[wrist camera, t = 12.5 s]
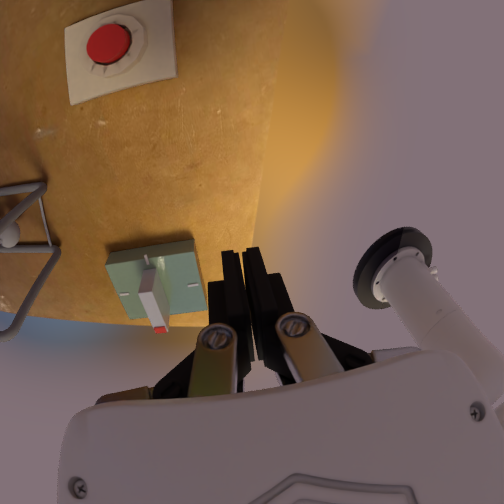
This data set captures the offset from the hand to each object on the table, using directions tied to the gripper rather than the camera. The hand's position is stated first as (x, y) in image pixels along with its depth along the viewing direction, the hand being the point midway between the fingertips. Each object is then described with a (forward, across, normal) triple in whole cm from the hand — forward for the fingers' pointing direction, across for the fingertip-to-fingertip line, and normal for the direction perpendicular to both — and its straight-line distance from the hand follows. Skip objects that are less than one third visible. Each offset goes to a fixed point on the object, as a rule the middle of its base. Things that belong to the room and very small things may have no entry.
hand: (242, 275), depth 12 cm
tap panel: (+21, +10, +14) cm, 27 cm away
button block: (+20, +10, -16) cm, 28 cm away
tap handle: (+18, +10, +14) cm, 25 cm away
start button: (+17, +10, -16) cm, 25 cm away
